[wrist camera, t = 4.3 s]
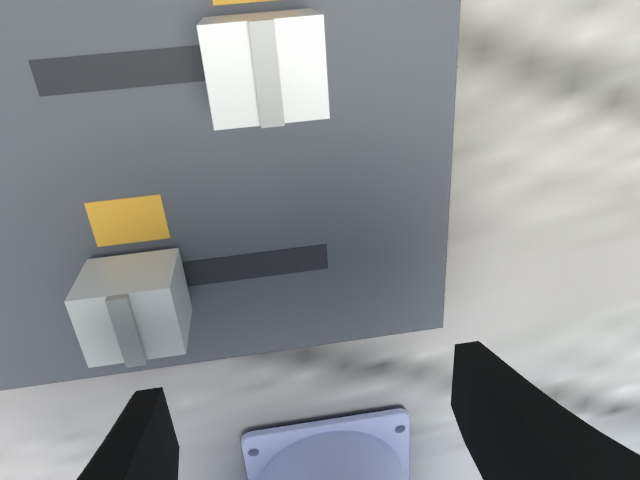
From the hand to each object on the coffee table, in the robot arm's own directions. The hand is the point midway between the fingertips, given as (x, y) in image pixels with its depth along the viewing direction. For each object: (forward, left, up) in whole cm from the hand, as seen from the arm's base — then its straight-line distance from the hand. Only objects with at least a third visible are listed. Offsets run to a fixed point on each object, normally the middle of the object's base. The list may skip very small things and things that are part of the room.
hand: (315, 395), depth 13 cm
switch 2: (+7, 0, -6) cm, 10 cm away
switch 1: (0, +5, -6) cm, 8 cm away
